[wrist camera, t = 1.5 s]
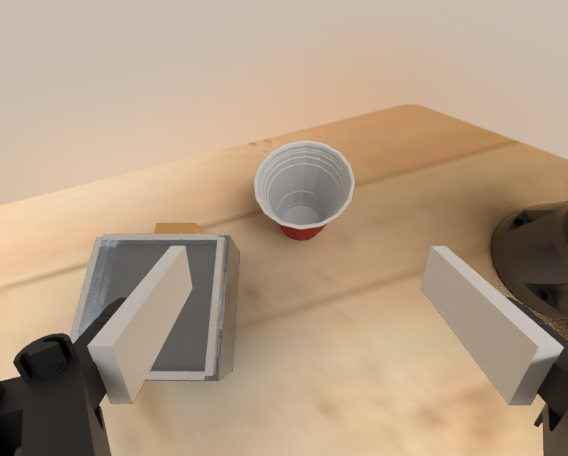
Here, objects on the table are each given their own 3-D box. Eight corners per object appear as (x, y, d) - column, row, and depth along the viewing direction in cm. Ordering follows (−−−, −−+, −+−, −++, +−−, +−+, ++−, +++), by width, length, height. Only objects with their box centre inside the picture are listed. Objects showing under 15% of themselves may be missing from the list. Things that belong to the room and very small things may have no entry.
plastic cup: (266, 187, 42) (258, 135, 30) (336, 191, 41) (354, 140, 30) (258, 255, 38) (246, 223, 27) (336, 260, 37) (356, 231, 26)
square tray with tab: (241, 235, 39) (228, 211, 31) (232, 370, 33) (214, 383, 25) (138, 236, 39) (100, 212, 31) (110, 369, 33) (54, 382, 25)
